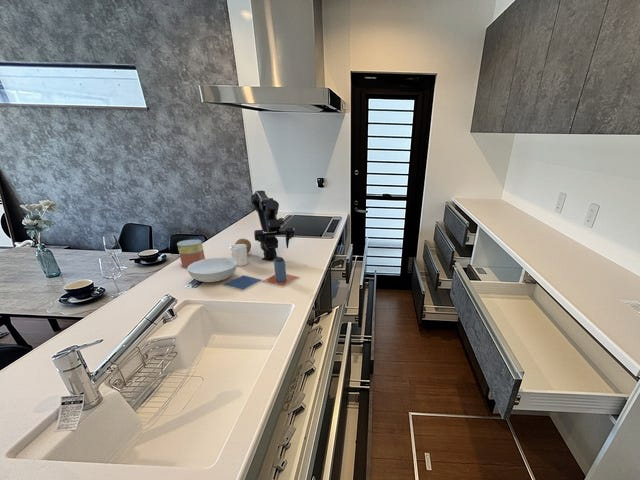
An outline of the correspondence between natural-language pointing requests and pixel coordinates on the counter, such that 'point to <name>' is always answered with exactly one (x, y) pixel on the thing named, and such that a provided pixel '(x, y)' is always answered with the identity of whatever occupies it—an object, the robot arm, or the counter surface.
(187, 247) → the canned food
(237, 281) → the blue mat
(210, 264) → the serving bowl
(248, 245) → the natural sponge
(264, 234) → the robot arm
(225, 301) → the counter surface
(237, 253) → the white cup
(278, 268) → the blue mill
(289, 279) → the terracotta trivet
